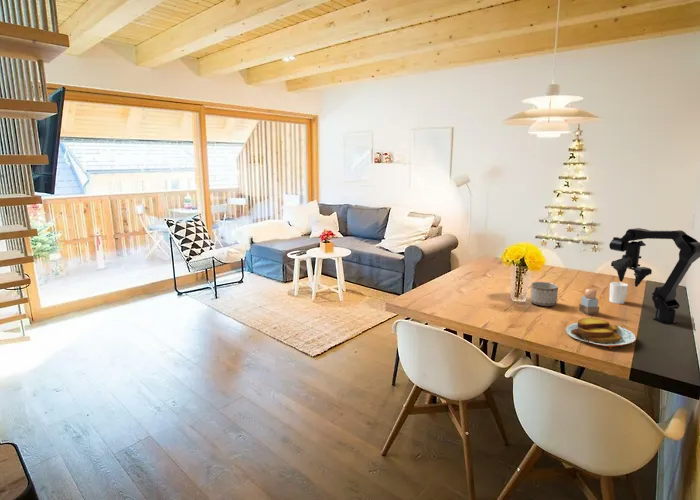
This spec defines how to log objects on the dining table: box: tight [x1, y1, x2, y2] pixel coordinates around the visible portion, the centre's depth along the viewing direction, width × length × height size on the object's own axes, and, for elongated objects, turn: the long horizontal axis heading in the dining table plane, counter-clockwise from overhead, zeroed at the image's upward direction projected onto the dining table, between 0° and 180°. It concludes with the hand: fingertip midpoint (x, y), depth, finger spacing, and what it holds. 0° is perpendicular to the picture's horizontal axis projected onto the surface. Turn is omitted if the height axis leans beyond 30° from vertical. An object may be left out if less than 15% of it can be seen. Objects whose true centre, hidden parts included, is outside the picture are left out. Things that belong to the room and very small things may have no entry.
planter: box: [529, 281, 559, 307], centre depth 208 cm, size 13×13×10 cm
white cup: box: [608, 281, 629, 305], centre depth 209 cm, size 8×8×10 cm
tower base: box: [578, 303, 600, 316], centre depth 195 cm, size 6×6×4 cm
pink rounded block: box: [584, 288, 597, 299], centre depth 193 cm, size 5×5×4 cm
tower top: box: [580, 295, 599, 307], centre depth 194 cm, size 5×5×4 cm
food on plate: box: [564, 317, 637, 350], centre depth 166 cm, size 25×25×7 cm
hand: (628, 283), depth 197 cm, fingers open, 9 cm apart
